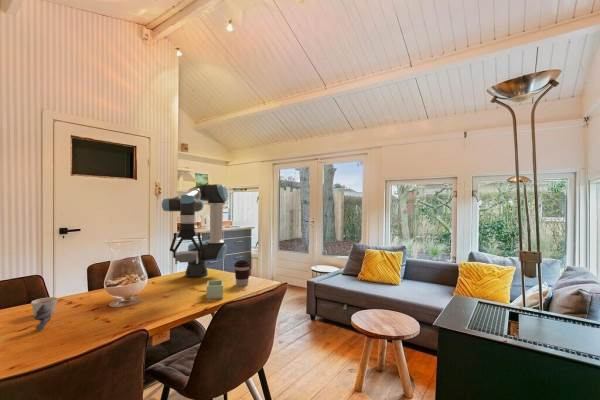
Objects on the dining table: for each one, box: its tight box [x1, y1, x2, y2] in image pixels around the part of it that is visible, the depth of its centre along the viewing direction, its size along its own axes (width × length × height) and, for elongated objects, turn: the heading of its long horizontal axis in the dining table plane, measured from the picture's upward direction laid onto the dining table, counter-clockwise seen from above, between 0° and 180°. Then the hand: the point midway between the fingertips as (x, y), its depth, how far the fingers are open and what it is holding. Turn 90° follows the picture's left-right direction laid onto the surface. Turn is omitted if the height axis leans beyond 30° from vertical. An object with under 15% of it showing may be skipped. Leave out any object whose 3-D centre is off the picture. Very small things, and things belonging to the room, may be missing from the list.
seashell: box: [34, 304, 53, 331], centre depth 119 cm, size 5×5×10 cm
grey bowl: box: [31, 296, 58, 317], centre depth 135 cm, size 9×9×6 cm
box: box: [206, 279, 224, 301], centre depth 164 cm, size 12×8×7 cm
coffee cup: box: [233, 259, 251, 287], centre depth 186 cm, size 10×10×15 cm
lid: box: [174, 250, 197, 263], centre depth 161 cm, size 13×10×4 cm
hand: (186, 263), depth 161 cm, fingers closed on lid, 10 cm apart
